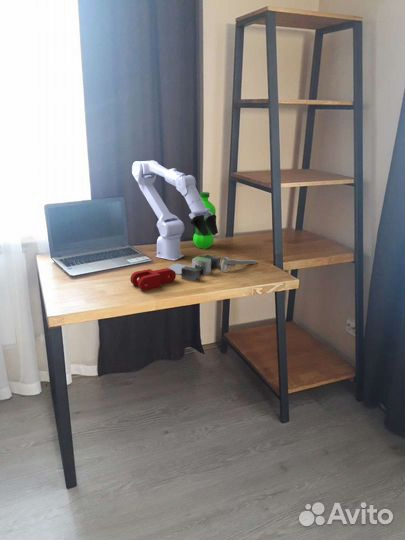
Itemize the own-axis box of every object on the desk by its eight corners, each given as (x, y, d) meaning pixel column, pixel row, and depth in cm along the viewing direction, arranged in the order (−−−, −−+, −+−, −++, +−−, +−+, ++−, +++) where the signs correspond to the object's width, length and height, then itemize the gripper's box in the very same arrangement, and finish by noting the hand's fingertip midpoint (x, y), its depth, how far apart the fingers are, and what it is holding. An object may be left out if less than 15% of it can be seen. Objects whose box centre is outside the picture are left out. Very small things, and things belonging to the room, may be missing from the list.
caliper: (222, 273, 175) (223, 258, 173) (220, 272, 176) (221, 257, 174) (257, 263, 188) (258, 249, 186) (255, 262, 189) (256, 248, 187)
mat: (162, 271, 175) (162, 270, 175) (175, 264, 183) (175, 263, 183) (179, 275, 171) (179, 274, 171) (192, 267, 180) (192, 266, 179)
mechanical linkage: (140, 292, 154) (140, 278, 153) (130, 286, 160) (130, 272, 158) (179, 283, 163) (179, 270, 162) (168, 277, 169) (168, 265, 167)
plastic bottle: (196, 243, 214) (197, 190, 205) (217, 245, 210) (219, 192, 202) (188, 248, 205) (189, 193, 196) (210, 251, 201) (212, 195, 193)
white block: (192, 272, 174) (192, 259, 172) (197, 269, 178) (197, 256, 176) (205, 275, 172) (206, 261, 170) (210, 272, 175) (211, 259, 173)
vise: (181, 278, 168) (181, 268, 166) (206, 264, 184) (207, 254, 183) (195, 281, 165) (195, 271, 164) (219, 266, 182) (220, 257, 180)
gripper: (193, 197, 166) (209, 229, 164) (212, 198, 179) (227, 228, 177) (179, 207, 170) (195, 239, 168) (199, 207, 182) (214, 237, 180)
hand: (211, 234), depth 172 cm, fingers open, 7 cm apart
